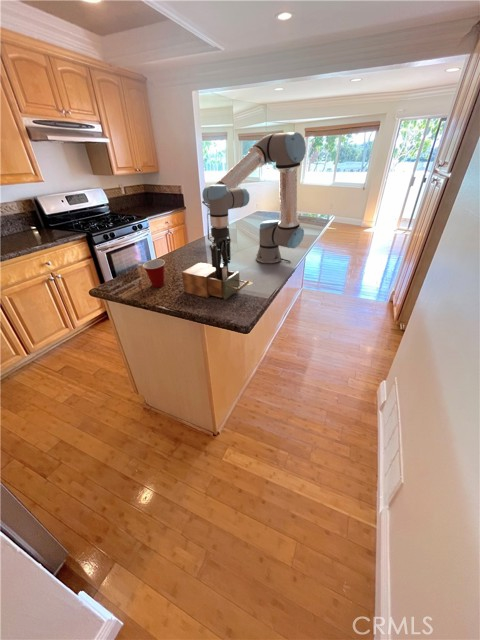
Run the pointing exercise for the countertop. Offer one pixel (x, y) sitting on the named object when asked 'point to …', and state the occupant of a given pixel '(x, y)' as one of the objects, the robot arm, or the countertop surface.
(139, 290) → the countertop surface
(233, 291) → the drawer
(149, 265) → the plastic cup
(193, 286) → the cabinet
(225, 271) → the salt shaker
